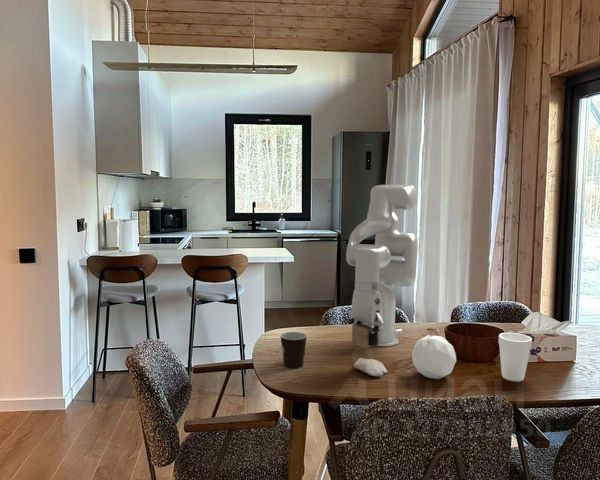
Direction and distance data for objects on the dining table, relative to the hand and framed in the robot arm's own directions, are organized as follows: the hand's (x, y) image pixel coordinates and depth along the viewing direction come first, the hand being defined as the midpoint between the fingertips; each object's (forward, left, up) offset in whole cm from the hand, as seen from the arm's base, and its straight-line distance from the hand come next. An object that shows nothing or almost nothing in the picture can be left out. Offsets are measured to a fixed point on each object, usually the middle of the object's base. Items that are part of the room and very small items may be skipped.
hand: (365, 341), depth 159 cm
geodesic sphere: (-14, +16, -10) cm, 23 cm away
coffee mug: (+15, -18, -10) cm, 25 cm away
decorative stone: (-2, +1, -10) cm, 10 cm away
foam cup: (-34, +31, -10) cm, 47 cm away
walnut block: (0, 0, -1) cm, 1 cm away
